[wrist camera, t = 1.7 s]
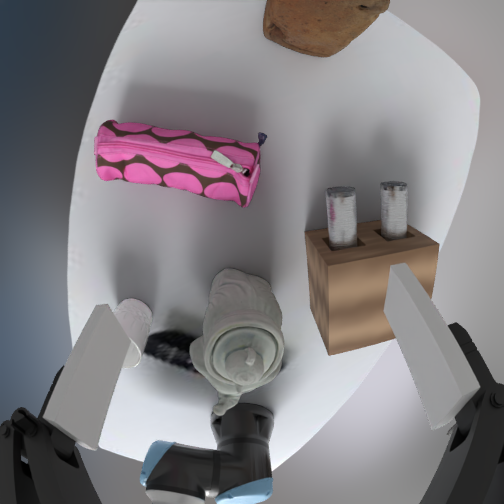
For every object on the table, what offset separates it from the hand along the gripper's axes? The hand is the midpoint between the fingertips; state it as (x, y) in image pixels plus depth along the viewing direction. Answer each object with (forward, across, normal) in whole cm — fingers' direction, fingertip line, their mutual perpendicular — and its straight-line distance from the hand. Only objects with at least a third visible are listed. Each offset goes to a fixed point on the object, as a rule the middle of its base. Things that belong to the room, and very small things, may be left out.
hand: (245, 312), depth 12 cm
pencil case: (+29, +9, -2) cm, 31 cm away
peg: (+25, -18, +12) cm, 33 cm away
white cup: (+24, +24, +21) cm, 40 cm away
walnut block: (+27, -14, +19) cm, 36 cm away
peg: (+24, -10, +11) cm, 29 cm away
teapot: (+26, +6, +23) cm, 35 cm away
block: (+33, -10, -18) cm, 39 cm away
